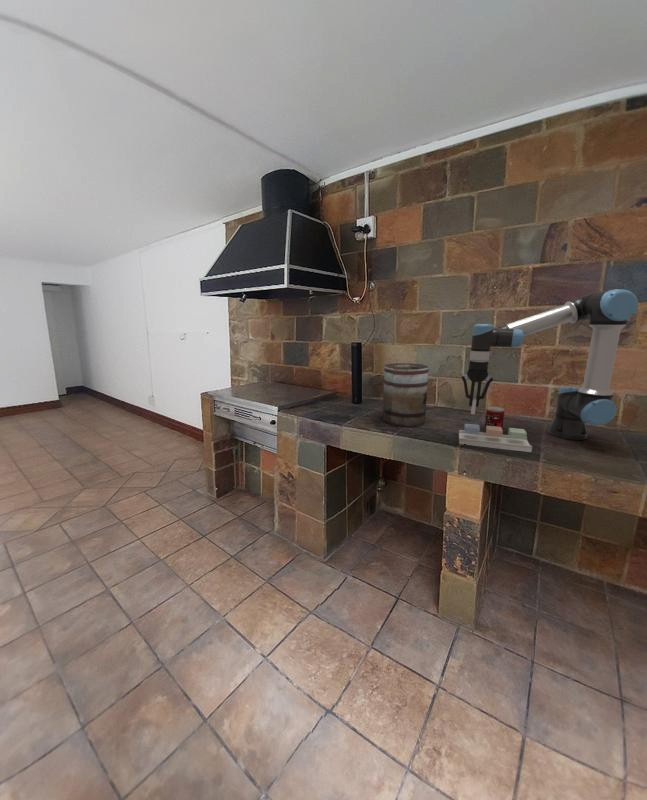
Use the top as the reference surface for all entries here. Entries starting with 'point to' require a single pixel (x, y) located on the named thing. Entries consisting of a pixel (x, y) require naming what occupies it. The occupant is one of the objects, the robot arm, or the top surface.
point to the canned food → (494, 417)
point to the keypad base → (494, 441)
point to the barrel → (405, 394)
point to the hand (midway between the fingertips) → (472, 413)
